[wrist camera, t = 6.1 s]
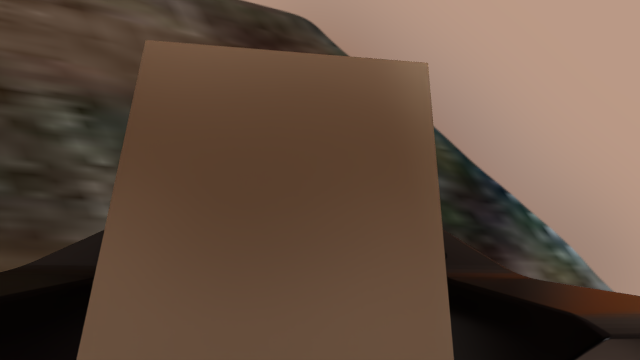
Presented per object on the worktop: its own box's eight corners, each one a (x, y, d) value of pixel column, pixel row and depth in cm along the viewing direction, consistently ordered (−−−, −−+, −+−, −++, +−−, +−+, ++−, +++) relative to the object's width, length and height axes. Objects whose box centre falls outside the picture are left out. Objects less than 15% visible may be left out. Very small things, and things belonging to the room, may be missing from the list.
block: (330, 257, 15) (454, 371, 3) (260, 256, 15) (71, 380, 3) (331, 189, 16) (427, 62, 4) (265, 187, 16) (146, 39, 4)
